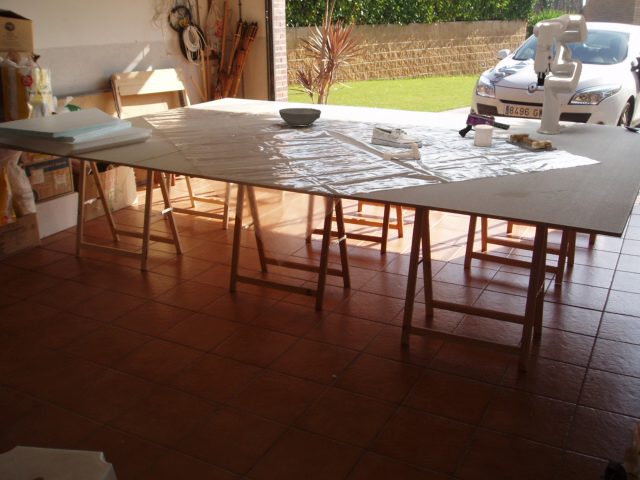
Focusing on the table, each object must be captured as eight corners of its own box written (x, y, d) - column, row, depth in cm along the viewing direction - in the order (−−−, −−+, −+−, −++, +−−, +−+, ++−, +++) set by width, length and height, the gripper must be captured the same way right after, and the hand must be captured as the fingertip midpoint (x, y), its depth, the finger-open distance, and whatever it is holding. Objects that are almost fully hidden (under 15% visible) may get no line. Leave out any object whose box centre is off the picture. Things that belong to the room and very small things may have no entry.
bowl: (278, 123, 383) (278, 107, 379) (318, 121, 385) (318, 105, 382) (280, 130, 359) (279, 114, 355) (323, 128, 361) (323, 112, 358)
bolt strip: (526, 140, 319) (526, 138, 318) (557, 150, 296) (557, 148, 295) (505, 142, 316) (505, 140, 315) (534, 152, 292) (534, 150, 292)
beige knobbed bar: (386, 168, 288) (379, 149, 285) (420, 155, 286) (414, 136, 283) (387, 170, 285) (380, 151, 281) (421, 157, 283) (416, 138, 279)
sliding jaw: (547, 146, 299) (548, 139, 298) (551, 147, 296) (552, 140, 295) (531, 147, 297) (531, 141, 295) (534, 148, 294) (535, 142, 293)
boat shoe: (418, 149, 304) (419, 131, 300) (367, 145, 315) (367, 127, 312) (424, 145, 312) (425, 127, 309) (374, 141, 324) (374, 124, 321)
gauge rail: (523, 140, 318) (524, 132, 317) (553, 150, 295) (554, 141, 293) (507, 142, 316) (508, 133, 314) (536, 152, 293) (537, 143, 291)
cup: (481, 147, 305) (483, 128, 301) (468, 144, 313) (470, 125, 310) (495, 145, 309) (497, 126, 306) (482, 142, 317) (484, 124, 314)
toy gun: (503, 147, 326) (512, 121, 320) (457, 136, 329) (465, 110, 323) (502, 146, 329) (511, 120, 323) (457, 135, 332) (465, 109, 326)
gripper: (560, 49, 294) (555, 87, 300) (542, 47, 307) (537, 84, 314) (547, 50, 292) (542, 87, 299) (529, 48, 305) (525, 84, 312)
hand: (540, 85), depth 306 cm, fingers closed
